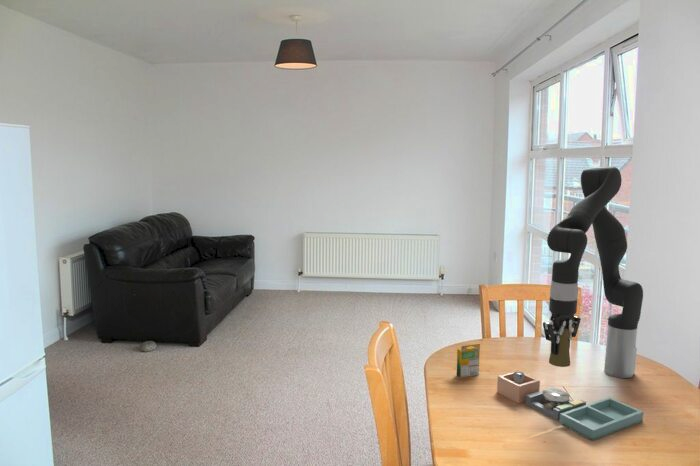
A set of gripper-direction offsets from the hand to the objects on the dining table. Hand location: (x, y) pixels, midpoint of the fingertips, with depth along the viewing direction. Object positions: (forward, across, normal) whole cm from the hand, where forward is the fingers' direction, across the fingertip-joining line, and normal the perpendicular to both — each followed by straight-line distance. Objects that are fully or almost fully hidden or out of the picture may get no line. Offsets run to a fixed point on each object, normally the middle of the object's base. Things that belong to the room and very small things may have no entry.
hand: (560, 352), depth 164 cm
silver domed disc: (+17, 0, 0) cm, 17 cm away
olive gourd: (+4, 0, 0) cm, 4 cm away
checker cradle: (+18, 0, 0) cm, 18 cm away
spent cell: (+17, +3, -12) cm, 22 cm away
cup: (+18, +3, -12) cm, 22 cm away
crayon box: (+18, +6, -32) cm, 38 cm away
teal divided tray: (+18, -5, +12) cm, 22 cm away
